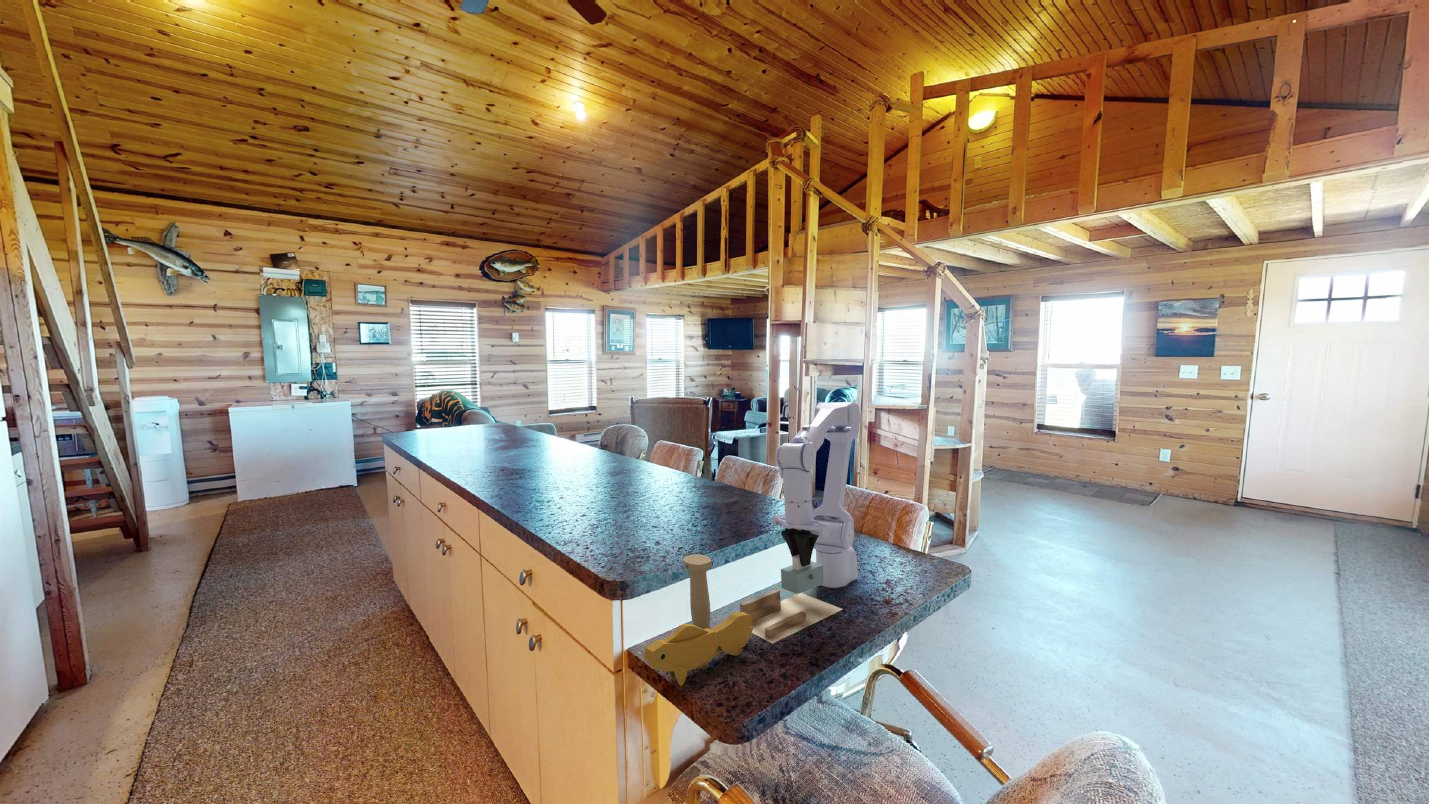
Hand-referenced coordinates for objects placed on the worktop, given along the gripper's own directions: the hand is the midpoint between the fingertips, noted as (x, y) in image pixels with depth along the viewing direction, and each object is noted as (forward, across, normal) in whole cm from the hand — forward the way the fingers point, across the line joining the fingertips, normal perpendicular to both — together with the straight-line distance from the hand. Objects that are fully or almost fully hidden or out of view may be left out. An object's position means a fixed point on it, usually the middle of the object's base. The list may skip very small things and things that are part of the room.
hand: (801, 564), depth 109 cm
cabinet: (+5, 0, 0) cm, 5 cm away
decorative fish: (+11, +2, -28) cm, 30 cm away
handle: (+11, -8, -21) cm, 25 cm away
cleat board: (+10, 0, -5) cm, 12 cm away
